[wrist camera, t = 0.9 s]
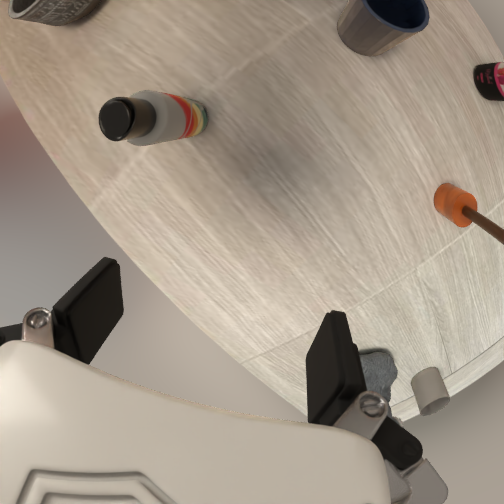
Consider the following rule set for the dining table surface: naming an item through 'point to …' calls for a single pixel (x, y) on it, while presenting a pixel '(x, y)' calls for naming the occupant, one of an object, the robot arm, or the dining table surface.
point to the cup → (429, 391)
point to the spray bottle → (152, 118)
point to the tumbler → (380, 24)
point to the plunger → (463, 210)
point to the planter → (51, 10)
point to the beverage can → (490, 80)
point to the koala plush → (380, 376)
